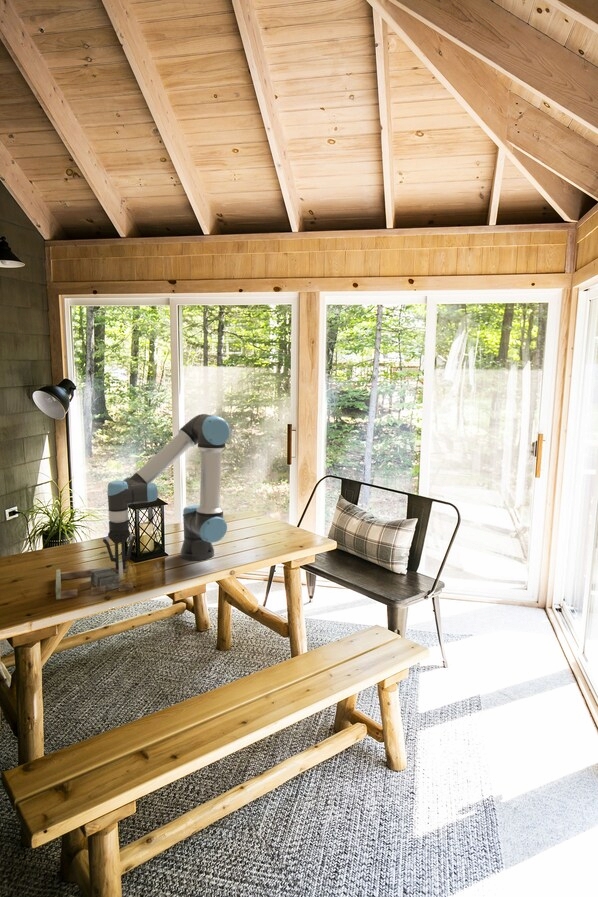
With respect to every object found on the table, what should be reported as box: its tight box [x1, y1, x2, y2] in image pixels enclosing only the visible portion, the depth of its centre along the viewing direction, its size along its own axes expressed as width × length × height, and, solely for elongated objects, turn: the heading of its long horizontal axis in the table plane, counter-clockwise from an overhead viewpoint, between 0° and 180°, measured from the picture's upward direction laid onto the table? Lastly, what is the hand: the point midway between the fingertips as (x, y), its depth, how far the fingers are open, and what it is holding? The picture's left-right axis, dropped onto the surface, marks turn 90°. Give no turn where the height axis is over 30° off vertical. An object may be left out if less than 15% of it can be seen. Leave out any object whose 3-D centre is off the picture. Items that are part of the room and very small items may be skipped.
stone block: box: [90, 566, 121, 592], centre depth 243 cm, size 9×14×5 cm, turn 33°
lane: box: [55, 564, 133, 600], centre depth 243 cm, size 28×23×4 cm
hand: (120, 577), depth 247 cm, fingers closed
